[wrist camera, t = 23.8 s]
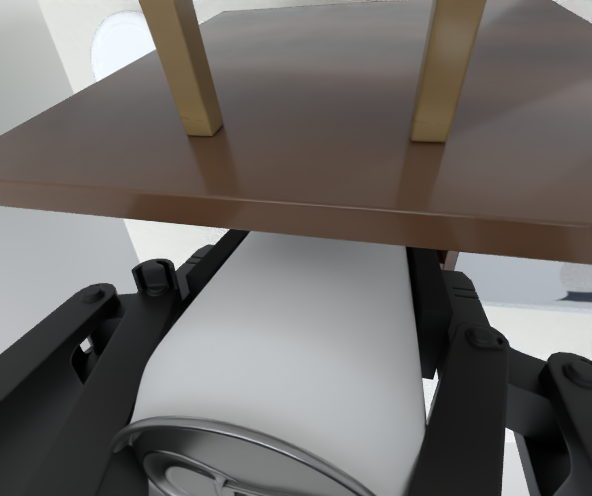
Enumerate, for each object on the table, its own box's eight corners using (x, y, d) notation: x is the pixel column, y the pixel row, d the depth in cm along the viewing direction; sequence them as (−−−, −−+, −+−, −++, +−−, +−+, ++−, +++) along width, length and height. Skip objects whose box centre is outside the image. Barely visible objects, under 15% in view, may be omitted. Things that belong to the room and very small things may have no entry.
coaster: (173, -5, 28) (148, -14, 25) (219, 110, 32) (202, 114, 29) (97, 41, 32) (67, 38, 29) (147, 139, 36) (125, 145, 33)
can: (270, 163, 15) (23, 367, 5) (413, 169, 13) (503, 478, 3) (277, 276, 18) (140, 541, 8) (394, 290, 17) (409, 637, 6)
